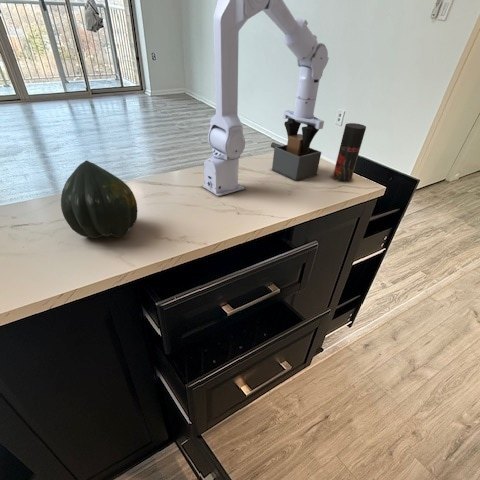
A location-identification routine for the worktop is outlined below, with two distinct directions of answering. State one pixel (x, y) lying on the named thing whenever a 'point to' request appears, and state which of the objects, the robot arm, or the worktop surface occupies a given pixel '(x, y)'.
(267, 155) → the worktop surface
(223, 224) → the worktop surface
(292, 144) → the block
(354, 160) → the deodorant
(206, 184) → the robot arm
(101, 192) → the squash
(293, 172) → the basket
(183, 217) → the worktop surface
